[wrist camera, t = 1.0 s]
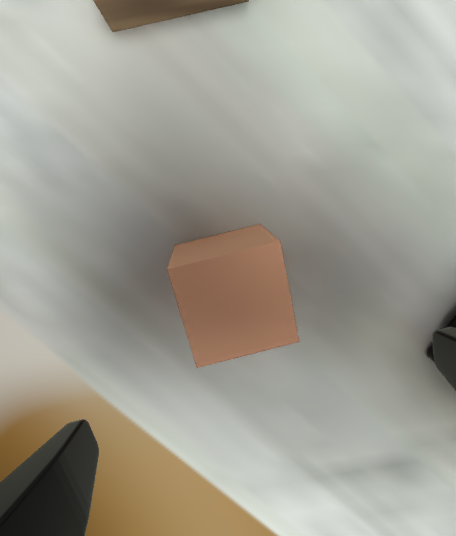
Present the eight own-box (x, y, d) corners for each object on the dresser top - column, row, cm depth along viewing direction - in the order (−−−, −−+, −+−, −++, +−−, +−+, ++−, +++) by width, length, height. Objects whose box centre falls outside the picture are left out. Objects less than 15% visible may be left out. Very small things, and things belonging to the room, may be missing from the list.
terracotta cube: (259, 223, 17) (280, 241, 13) (275, 302, 18) (299, 341, 14) (174, 244, 17) (167, 269, 13) (197, 322, 18) (196, 367, 14)
